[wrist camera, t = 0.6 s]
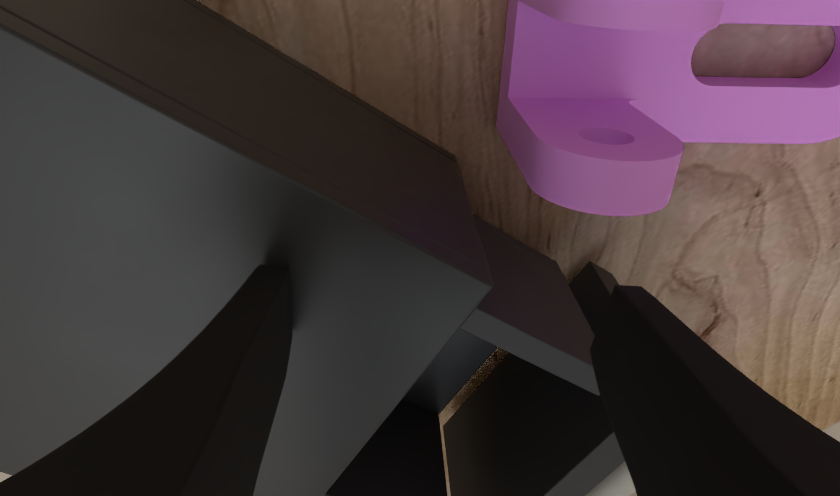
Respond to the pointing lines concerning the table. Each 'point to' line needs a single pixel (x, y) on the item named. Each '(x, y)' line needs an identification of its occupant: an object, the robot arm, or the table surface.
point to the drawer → (506, 395)
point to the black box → (211, 227)
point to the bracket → (644, 95)
